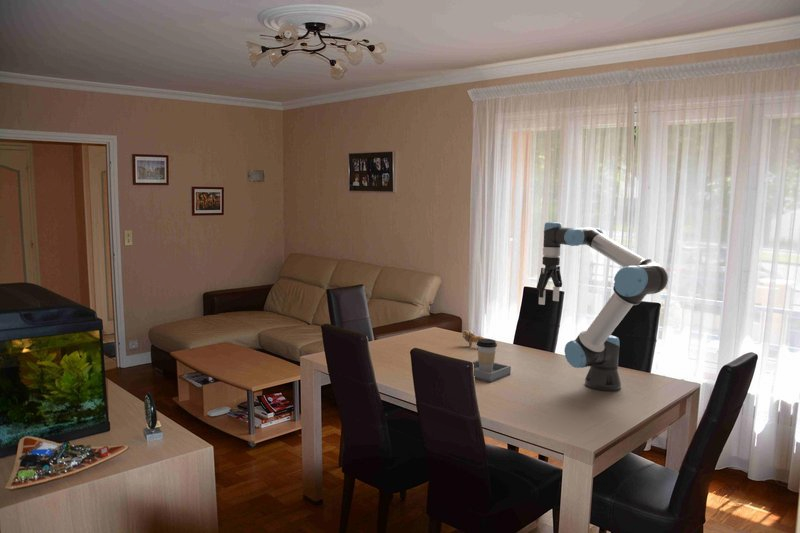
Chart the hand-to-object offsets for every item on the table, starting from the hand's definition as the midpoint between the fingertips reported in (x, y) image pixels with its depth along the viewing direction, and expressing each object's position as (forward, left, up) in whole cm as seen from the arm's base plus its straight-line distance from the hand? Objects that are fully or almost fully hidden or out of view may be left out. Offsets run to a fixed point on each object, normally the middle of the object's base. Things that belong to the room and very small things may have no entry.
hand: (548, 302), depth 276 cm
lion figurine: (+54, -21, -35) cm, 67 cm away
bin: (+22, +18, -35) cm, 44 cm away
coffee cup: (+21, +17, -34) cm, 44 cm away
